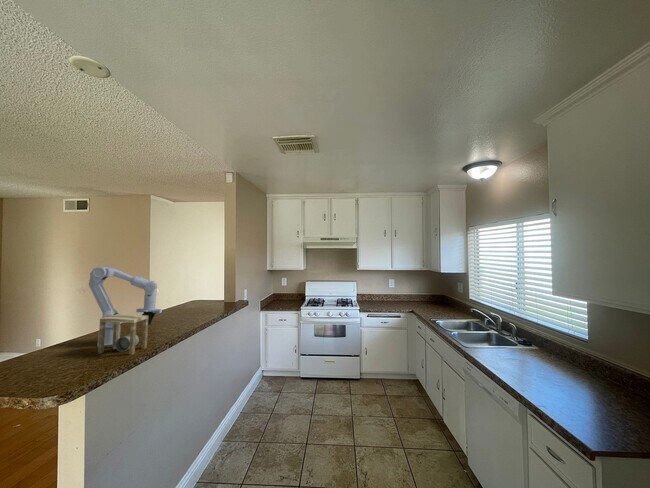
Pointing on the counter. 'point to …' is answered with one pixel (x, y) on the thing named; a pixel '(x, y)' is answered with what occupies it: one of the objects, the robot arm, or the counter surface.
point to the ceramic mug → (124, 343)
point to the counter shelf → (116, 320)
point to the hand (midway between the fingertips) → (148, 324)
